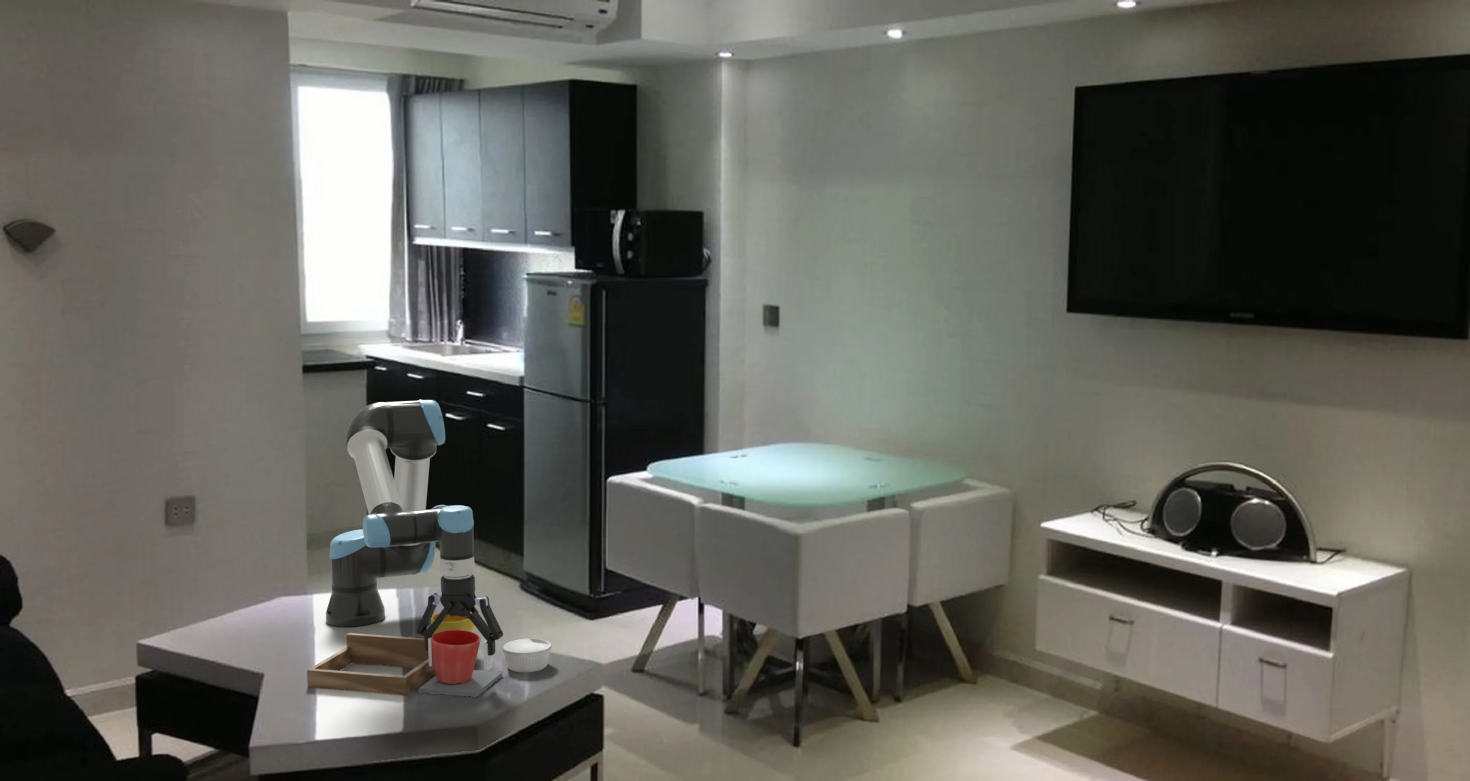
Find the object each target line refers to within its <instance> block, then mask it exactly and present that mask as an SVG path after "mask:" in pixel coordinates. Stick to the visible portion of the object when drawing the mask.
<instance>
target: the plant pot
mask: <svg viewBox="0 0 1470 781" xmlns="http://www.w3.org/2000/svg"><path fill="white" fill-rule="evenodd" d="M471 613H472V612H471ZM439 614H440V612H437V613H435V614H433V615H432V617H431V620H430V625H431V624H432V623H433V622H434V621H435V619H436V618H437V617H438V616H439ZM474 629H475V625H474V624H473V623H472V621H471V620H469V619H468V618H467V617H466V616H464V617H460V616H451V615H448V616H447V617H446V618H445V619H444V621H443V622H442V623H441V624H440V626H439V627H438V628H437V629H436V631H435V632H434V634H435V633H438V632H441V631H446V630H465V631H470V632H473V630H474ZM434 634H433V635H434Z"/></svg>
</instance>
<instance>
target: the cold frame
mask: <svg viewBox="0 0 1470 781" xmlns="http://www.w3.org/2000/svg"><path fill="white" fill-rule="evenodd" d="M352 664H356V665H357V664H358V665H370V666H372V665H373V666H383V667H394V668H395V667H398V668H408V669H412V670H410V671H408V672H407V673H405V674H404V675H395V674H384V673H383V674H382V673H371V672H357V671H346V670H345V668H347V667H349V666H350V665H352ZM435 676H436V671H435V665H434V666H429V651H426V650H425V638H424V637H411V636H408V637H407V636H396V635H382V634H367V633H356V632H354V633H353V632H349V633H347V634H346V647H344V648H342V649H341V650H339V651H337V652H335V653H333V654H332V655H331V656H329V657H327V658H325V659H324V660H322V661H320V662H318V663H317V664H315V665H313V666H312V667H309V668H308V669H306V678H307V679H306V680H307V688H310V689H311V688H312V689H322V690H323V689H324V690H325V689H326V690H336V691H347V692H361V693H372V694H382V695H383V694H385V695H395V696H396V695H397V696H408V695H409V694H411V693H412V692H413V691H415V690H416V689H418V688H420V687H421V686H422V685H424V684H425V683H426V682H428V681H429V680H431V679H432V678H433V677H435ZM425 681H426V682H425ZM421 684H422V685H421ZM410 692H411V693H410Z"/></svg>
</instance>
